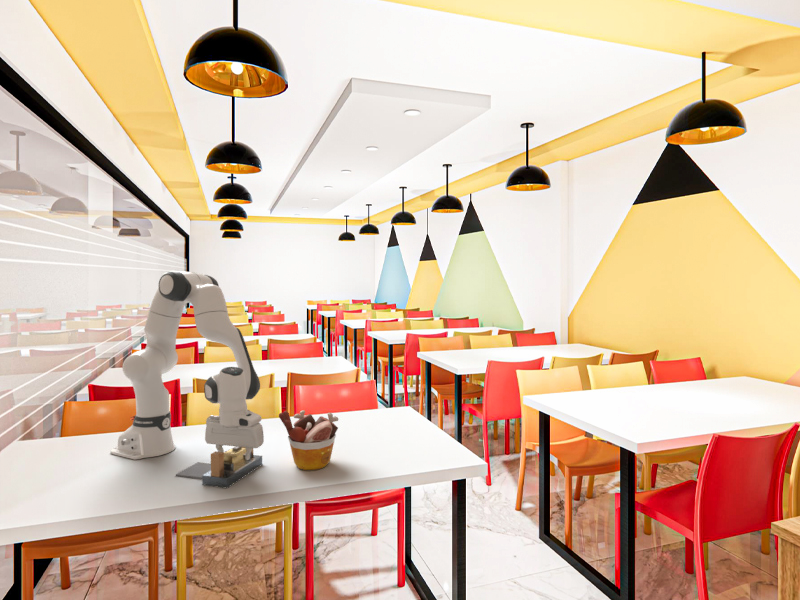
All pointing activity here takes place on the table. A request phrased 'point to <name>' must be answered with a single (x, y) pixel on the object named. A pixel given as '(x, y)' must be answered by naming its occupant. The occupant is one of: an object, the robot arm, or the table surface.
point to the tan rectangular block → (235, 455)
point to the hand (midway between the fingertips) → (234, 458)
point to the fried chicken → (310, 439)
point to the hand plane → (228, 470)
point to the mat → (195, 470)
